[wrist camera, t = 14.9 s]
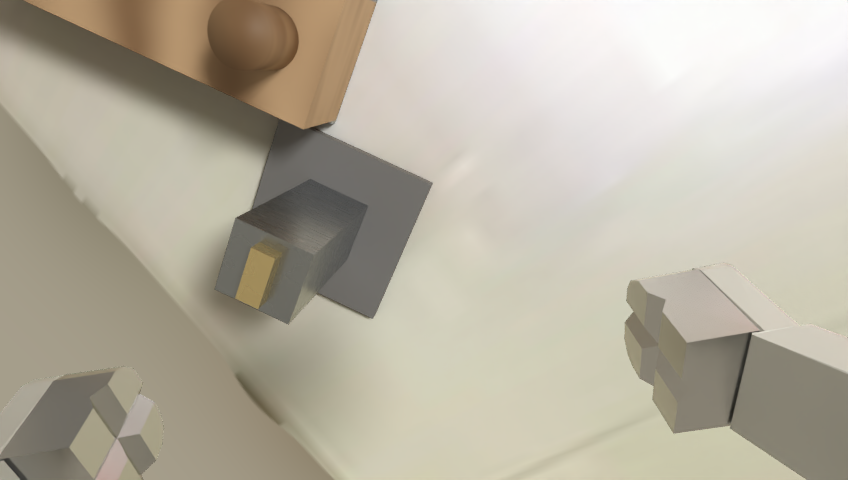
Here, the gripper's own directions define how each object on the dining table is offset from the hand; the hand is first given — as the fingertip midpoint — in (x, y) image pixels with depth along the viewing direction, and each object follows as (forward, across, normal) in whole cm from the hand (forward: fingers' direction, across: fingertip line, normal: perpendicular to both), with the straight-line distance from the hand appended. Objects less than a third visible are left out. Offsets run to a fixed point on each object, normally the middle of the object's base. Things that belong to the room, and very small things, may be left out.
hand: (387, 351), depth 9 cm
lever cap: (+23, +5, +9) cm, 25 cm away
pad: (+24, +5, +9) cm, 26 cm away
